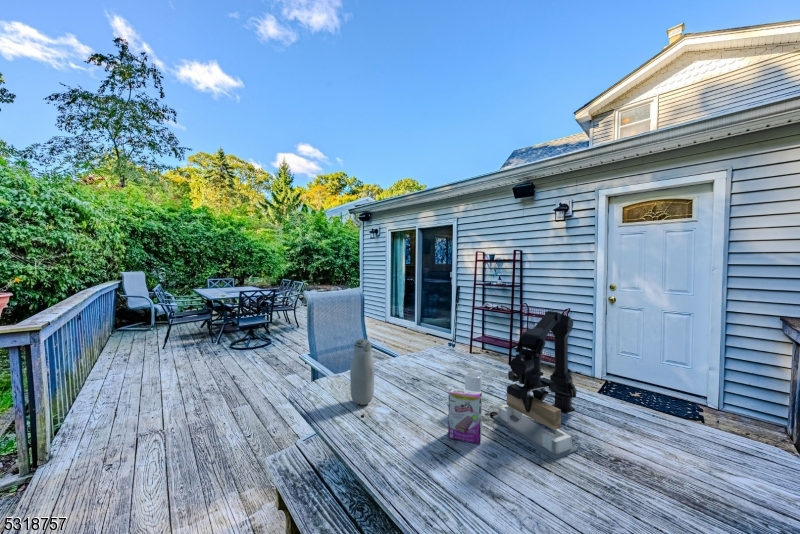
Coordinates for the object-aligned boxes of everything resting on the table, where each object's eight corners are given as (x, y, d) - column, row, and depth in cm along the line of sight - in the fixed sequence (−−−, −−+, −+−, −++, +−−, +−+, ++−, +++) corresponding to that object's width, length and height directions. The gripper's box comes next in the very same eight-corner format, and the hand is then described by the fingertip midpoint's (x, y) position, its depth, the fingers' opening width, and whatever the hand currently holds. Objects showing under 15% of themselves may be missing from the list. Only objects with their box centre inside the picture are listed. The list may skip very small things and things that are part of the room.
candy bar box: (447, 439, 106) (447, 392, 105) (450, 431, 110) (450, 386, 110) (480, 445, 102) (481, 397, 102) (481, 437, 107) (482, 391, 107)
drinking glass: (481, 415, 122) (482, 378, 122) (464, 413, 123) (464, 377, 123) (480, 407, 129) (481, 372, 128) (464, 405, 130) (464, 371, 130)
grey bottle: (346, 406, 130) (346, 341, 129) (358, 396, 139) (358, 335, 139) (367, 410, 126) (366, 343, 125) (377, 400, 135) (377, 337, 135)
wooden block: (513, 402, 119) (513, 387, 119) (560, 427, 102) (561, 409, 101) (506, 404, 118) (506, 389, 117) (554, 430, 100) (554, 412, 100)
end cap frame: (513, 412, 125) (513, 400, 125) (578, 450, 99) (578, 436, 99) (492, 417, 120) (492, 406, 120) (554, 459, 95) (554, 445, 95)
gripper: (532, 358, 120) (532, 397, 121) (496, 364, 113) (496, 406, 113) (557, 367, 110) (557, 409, 111) (519, 375, 103) (518, 420, 103)
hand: (531, 410), depth 110 cm, fingers closed on wooden block, 4 cm apart
